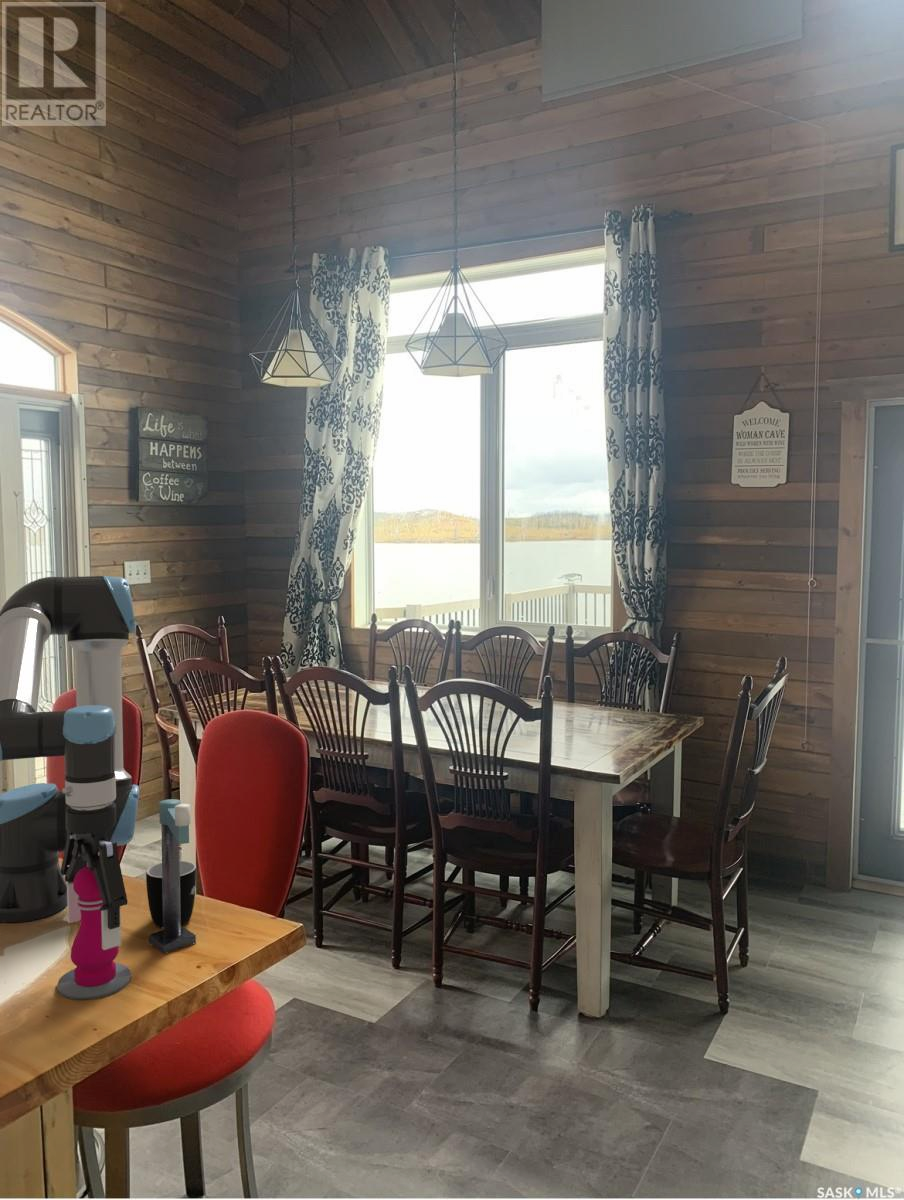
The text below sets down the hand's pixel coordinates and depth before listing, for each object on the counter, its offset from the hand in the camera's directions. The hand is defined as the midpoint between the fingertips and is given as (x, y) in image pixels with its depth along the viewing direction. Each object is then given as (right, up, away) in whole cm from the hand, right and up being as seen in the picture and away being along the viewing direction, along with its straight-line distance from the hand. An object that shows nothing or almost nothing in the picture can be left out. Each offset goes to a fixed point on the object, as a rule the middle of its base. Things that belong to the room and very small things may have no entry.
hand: (93, 933), depth 147 cm
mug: (+5, -7, +26) cm, 27 cm away
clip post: (+8, -7, +15) cm, 19 cm away
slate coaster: (0, -8, +1) cm, 8 cm away
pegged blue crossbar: (+11, +14, +9) cm, 20 cm away
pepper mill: (0, -8, 0) cm, 8 cm away
